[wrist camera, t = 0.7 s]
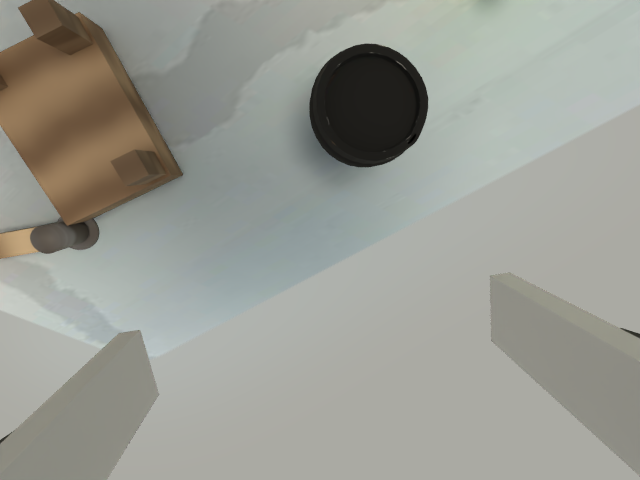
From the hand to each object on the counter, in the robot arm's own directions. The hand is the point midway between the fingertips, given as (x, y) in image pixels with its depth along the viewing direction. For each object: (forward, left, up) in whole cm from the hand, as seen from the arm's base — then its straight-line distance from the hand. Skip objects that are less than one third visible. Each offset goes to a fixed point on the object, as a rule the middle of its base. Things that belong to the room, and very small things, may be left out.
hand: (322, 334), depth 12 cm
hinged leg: (-12, -29, -26) cm, 41 cm away
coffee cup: (-8, +8, -27) cm, 29 cm away
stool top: (-17, -18, -27) cm, 37 cm away
